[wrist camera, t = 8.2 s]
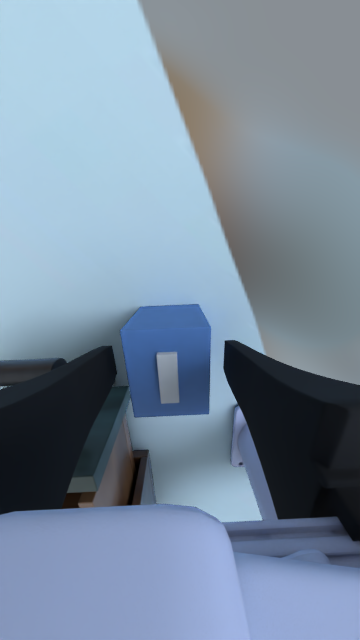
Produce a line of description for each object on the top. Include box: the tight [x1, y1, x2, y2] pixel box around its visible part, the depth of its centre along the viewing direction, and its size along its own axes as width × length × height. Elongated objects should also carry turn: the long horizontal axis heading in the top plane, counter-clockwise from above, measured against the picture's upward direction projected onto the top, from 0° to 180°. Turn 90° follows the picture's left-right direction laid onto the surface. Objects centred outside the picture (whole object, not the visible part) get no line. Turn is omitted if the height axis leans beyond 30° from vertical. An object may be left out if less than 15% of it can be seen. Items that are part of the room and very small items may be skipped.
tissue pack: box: [120, 304, 211, 417], centre depth 11 cm, size 4×6×5 cm
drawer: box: [0, 358, 137, 509], centre depth 12 cm, size 17×11×6 cm, turn 2°
